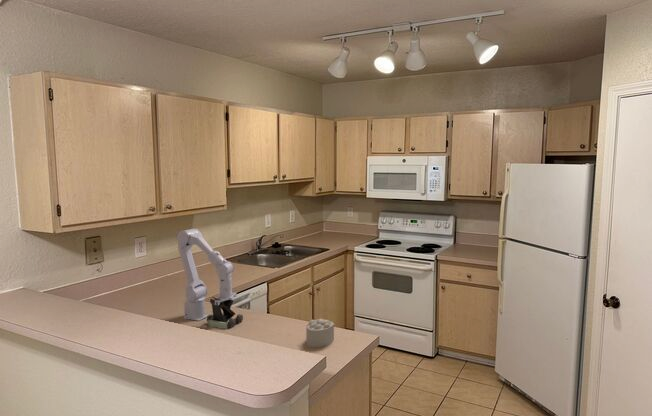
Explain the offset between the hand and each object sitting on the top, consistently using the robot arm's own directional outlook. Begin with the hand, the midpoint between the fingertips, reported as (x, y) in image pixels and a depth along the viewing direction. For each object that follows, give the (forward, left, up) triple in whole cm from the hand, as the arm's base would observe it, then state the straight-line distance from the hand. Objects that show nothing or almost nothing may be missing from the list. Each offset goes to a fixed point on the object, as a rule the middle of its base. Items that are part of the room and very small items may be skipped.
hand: (226, 315), depth 208 cm
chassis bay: (0, 0, -3) cm, 3 cm away
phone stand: (0, -1, -2) cm, 2 cm away
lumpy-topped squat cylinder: (+50, -3, -4) cm, 50 cm away
